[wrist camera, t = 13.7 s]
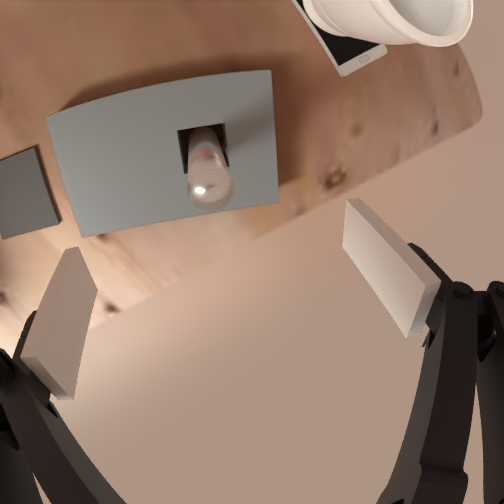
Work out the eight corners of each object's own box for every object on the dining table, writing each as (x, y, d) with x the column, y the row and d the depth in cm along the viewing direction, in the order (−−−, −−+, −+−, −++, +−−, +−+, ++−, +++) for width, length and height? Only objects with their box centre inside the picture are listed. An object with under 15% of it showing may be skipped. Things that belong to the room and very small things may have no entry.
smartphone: (342, 78, 29) (268, -31, 21) (340, 78, 30) (266, -30, 22) (390, 52, 28) (324, -53, 20) (387, 52, 28) (322, -51, 20)
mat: (4, 237, 32) (2, 239, 31) (-22, 170, 26) (-24, 172, 26) (60, 222, 33) (59, 224, 32) (35, 146, 27) (33, 147, 27)
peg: (191, 155, 32) (191, 214, 21) (187, 129, 30) (183, 172, 19) (218, 151, 32) (236, 207, 21) (215, 125, 31) (231, 165, 19)
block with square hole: (90, 222, 34) (82, 238, 31) (58, 111, 26) (45, 117, 23) (271, 189, 36) (279, 202, 33) (262, 69, 28) (271, 69, 25)
